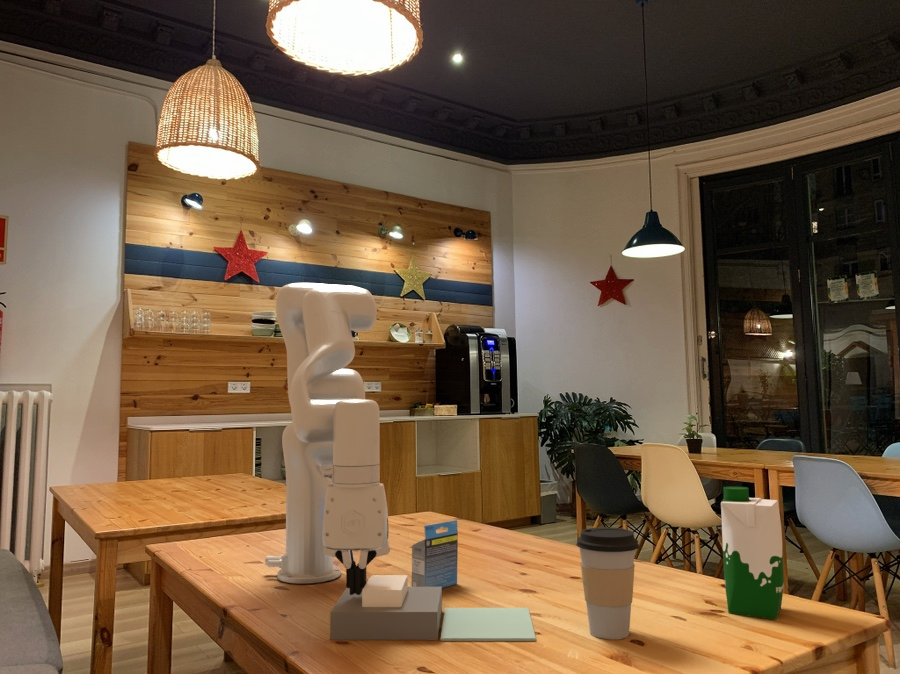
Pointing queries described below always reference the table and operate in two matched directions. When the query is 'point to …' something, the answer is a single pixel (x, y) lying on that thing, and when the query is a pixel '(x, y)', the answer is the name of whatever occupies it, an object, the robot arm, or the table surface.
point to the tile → (385, 591)
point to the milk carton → (752, 554)
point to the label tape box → (436, 556)
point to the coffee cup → (608, 579)
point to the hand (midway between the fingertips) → (356, 592)
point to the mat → (487, 624)
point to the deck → (388, 617)
